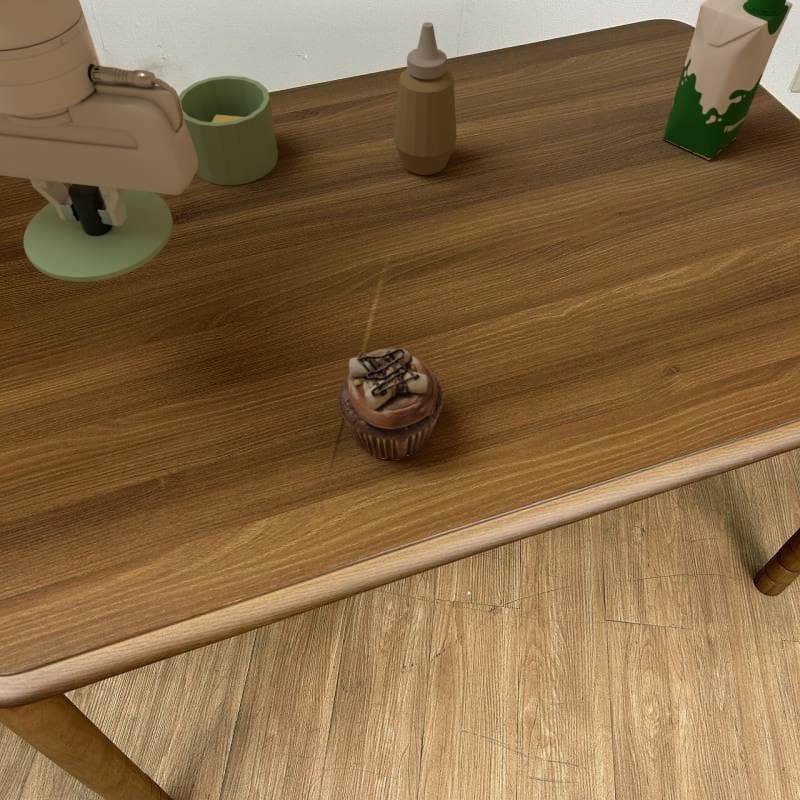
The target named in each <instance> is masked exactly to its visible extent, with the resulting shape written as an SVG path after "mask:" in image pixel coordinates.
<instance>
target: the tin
mask: <svg viewBox="0 0 800 800" xmlns="http://www.w3.org/2000/svg"><path fill="white" fill-rule="evenodd" d="M178 97H179V100H180V104H181V108H182V112H183V119H184V121H185V123H186V126H187V128H188V131H189V133H190V136H191V139H192V142H193V144H194V147H195V150H196V154H197V157H198V168H197V171H196V173H195V175H196V176H197V177H198V178H200V179H201V180H202V181H205V182H207V183H210V184H214V185H219V186H239V185H244V184H248V183H252V182H255V181H258V180H260V179H261V178H263V177H265V176H267V174H270V172H272V170H273V169H274V168H275V166H277V163H278V160H279V150H278V143H277V138H276V131H275V124H274V119H273V114H272V112H273V111H272V105H271V98H270V95H269V91H268V89H267V88H266V87H265V86H264V85H263V84H262V83H261V82H260V81H258V80H254V79H253V78H249V77H247V76H239V75H221V76H213V77H208V78H204V79H202V80H199V81H196V82H194V83H192V84H191V85H189V86H188V87H186V88H185V89H183V90H182V91H181V92H180V93H179V94H178ZM215 115H226V116H238V117H243V118H241V119H238V120H235V121H228V122H221V123H215V122H212V120H213V119H214V117H215Z"/></svg>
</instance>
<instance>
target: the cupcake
mask: <svg viewBox="0 0 800 800" xmlns="http://www.w3.org/2000/svg"><path fill="white" fill-rule="evenodd" d="M342 382H343V383H342V385H340V386H339V388H340V390H339V391H338V394H339V397H338V398H337V401H338V407H339V409H340V411H339V412H340V413H341V416H342V418H343V419H344V421H345V423H346V424H347V426H348V428H349V431H350V435H351V437H353V439H354V441H355V442H356V444H357V445H358V446H359V445H360V446H361V447H360V446H359V447H360V449H361V450H363V449H364V450H365V451H366V452H365V451H364V450H363V451H364V452H365V453H367V452H368V453H367V454H368V455H369V454H370V455H374V456H375V457H379V458H385V459H393V460H392V461H396V460H395V459H401V460H403V459H402V458H404V457H406V456H407V455H409V456H408V457H411V456H410V455H413V454H415V453H417V452H419V451H420V450H421V449H422V448H423V447H424V448H425V447H426V445H427V444H428V443H429V442H430V440H429V439H431V437H432V434H433V432H434V429H435V426H436V424H437V422H438V419H439V416H440V414H441V410H442V408H443V403H444V396H445V395H444V393H443V390H442V386H441V382H440V381H438V376H437V374H434V370H432V369H431V368H430V367H429V366H428V365H427V364H426V363H425V362H424V361H423V360H422V359H421V358H420V357H418V356H417V355H415V354H414V353H412V352H410V351H408V350H406V349H401V348H380V349H379V348H378V349H377V350H374V351H372V352H369V353H367V354H364V353H362V352H359V353H358V354H357V356H356V357H352V358H350V359H349V361H348V373H347V375H346V378H345V379H344V380H342ZM428 441H429V442H428ZM427 442H428V443H427ZM426 443H427V444H426ZM424 448H423V449H424ZM423 449H422V450H423ZM422 450H421V451H422ZM421 451H420V452H421ZM420 452H419V453H420ZM417 454H418V453H417ZM370 455H369V456H370ZM415 455H416V454H415ZM413 456H414V455H413ZM375 457H374V458H375ZM379 458H378V459H379ZM406 458H407V457H406ZM385 459H384V460H385ZM404 459H405V458H404Z"/></svg>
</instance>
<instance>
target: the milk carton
mask: <svg viewBox="0 0 800 800" xmlns="http://www.w3.org/2000/svg"><path fill="white" fill-rule="evenodd" d="M793 6H794V5H793V3H792V2H789V1H787V0H705V1H703V2H702V3H701V4H700V6H699V11H698V15H697V20H696V24H695V28H694V32H693V35H692V39H691V42H690V46H689V48H688V52H687V56H686V59H685V63H684V65H683V69H682V72H681V75H680V78H679V82H678V85H677V88H676V91H675V95H674V98H673V101H672V104H671V108H670V112H669V115H668V119H667V123H666V127H665V130H664V134H663V138H664V139H665V140H668V141H671V142H673V143H675V144H677V145H679V146H682V147H684V148H686V149H689V150H691V151H692V152H695V153H698V154H700V155H703V156H705V157H707V158H712V157H714V156H715V155H716V154H717V153H718V152H719V151H720V150H722V149H723V148H724V147H725V146H726V145H727V144H729V143H730V142H731V141H732V140H733V139H734V138H735V137H736V138H737V137H738V135H739V133H740V131H741V128H742V127H743V124H744V123H745V119H746V118H747V115H748V113H749V110H750V108H751V106H752V103H753V100H754V98H755V95H756V93H757V90H758V87H759V86H760V83H761V81H762V78H763V75H764V72H765V71H766V67H767V65H768V63H769V60H770V58H771V55H772V52H773V51H774V47H775V45H776V43H777V40H778V38H779V36H780V34H781V32H782V29H783V27H784V26H785V23H786V21H787V18H788V16H789V14H790V13H791V9H792V7H793ZM663 138H662V139H663ZM729 145H730V144H729ZM723 150H724V149H723ZM723 150H722V151H723ZM717 155H718V154H717ZM717 155H716V156H717ZM716 156H715V157H716ZM715 157H714V158H715Z"/></svg>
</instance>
